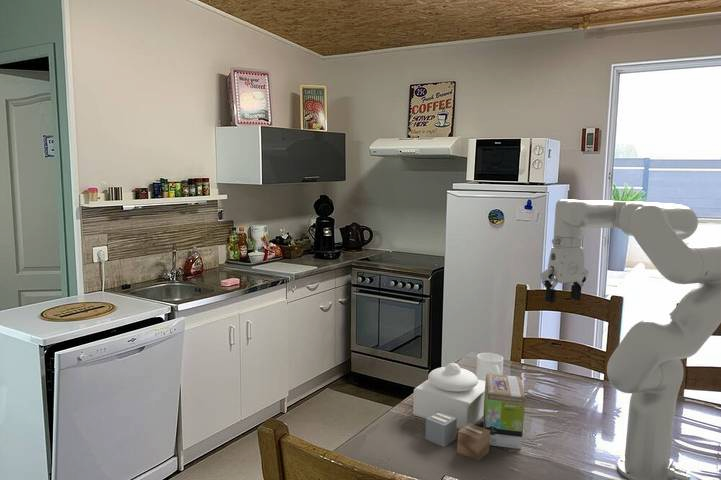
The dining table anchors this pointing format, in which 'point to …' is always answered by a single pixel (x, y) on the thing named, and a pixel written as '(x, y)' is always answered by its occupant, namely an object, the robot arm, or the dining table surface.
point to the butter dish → (451, 395)
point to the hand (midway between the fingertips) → (562, 300)
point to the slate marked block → (441, 428)
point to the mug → (489, 365)
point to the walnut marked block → (473, 441)
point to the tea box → (504, 410)
